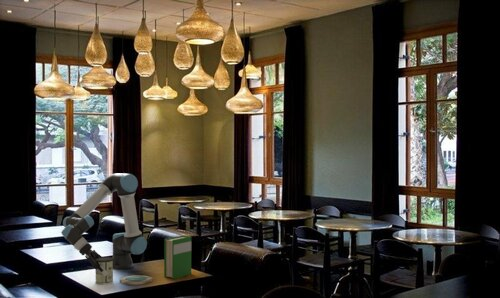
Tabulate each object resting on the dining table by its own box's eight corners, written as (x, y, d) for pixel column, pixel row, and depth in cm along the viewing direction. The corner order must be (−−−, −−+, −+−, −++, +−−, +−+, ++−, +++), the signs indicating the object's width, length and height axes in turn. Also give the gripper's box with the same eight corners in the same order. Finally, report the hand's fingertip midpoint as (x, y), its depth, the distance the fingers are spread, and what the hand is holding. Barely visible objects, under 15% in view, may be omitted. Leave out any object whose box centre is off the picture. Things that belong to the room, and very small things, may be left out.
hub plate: (115, 280, 339) (115, 277, 339) (144, 276, 350) (144, 273, 350) (127, 286, 324) (127, 283, 324) (157, 282, 334) (157, 279, 334)
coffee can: (99, 280, 339) (99, 256, 340) (115, 280, 338) (115, 257, 339) (92, 284, 329) (92, 260, 329) (109, 284, 328) (109, 260, 328)
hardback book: (173, 279, 343) (173, 240, 343) (164, 277, 347) (164, 239, 347) (191, 273, 358) (191, 236, 358) (182, 272, 362) (182, 235, 362)
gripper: (84, 247, 345) (109, 273, 345) (72, 254, 323) (99, 281, 323) (92, 239, 345) (118, 264, 345) (81, 245, 323) (108, 272, 323)
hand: (109, 273), depth 334 cm, fingers closed on coffee can, 10 cm apart
